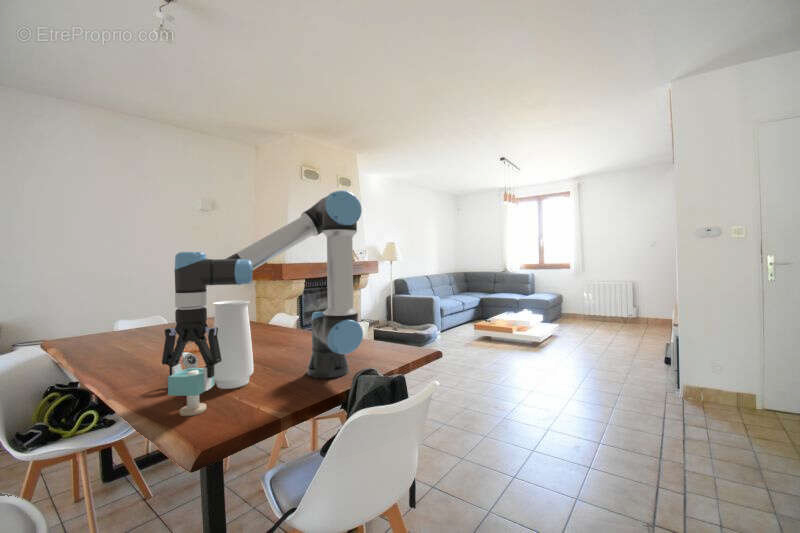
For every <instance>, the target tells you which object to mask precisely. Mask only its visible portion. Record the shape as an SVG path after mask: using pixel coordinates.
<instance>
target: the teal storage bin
mask: <svg viewBox="0 0 800 533" xmlns="http://www.w3.org/2000/svg"><path fill="white" fill-rule="evenodd" d="M193 370H198V371H199V373H198V374H197V375H186V372H188V371H193ZM214 386H215V380H214V376H213V377H212V387H214ZM204 392H205V391H204V380H203V367H197V368H187V367H186V368H184V369H182V371H180V372H177V373H175V374H173V375H171V376H170V375H169V376H168V377H167V396H169V397H171V396H173V397H174V396H175V397H176V396H177V397H179V396H180V397H181V396H184V397H185V396H186V397H187V396H198V395H199V396H200V395H201V394H203V393H204Z"/></svg>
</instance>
